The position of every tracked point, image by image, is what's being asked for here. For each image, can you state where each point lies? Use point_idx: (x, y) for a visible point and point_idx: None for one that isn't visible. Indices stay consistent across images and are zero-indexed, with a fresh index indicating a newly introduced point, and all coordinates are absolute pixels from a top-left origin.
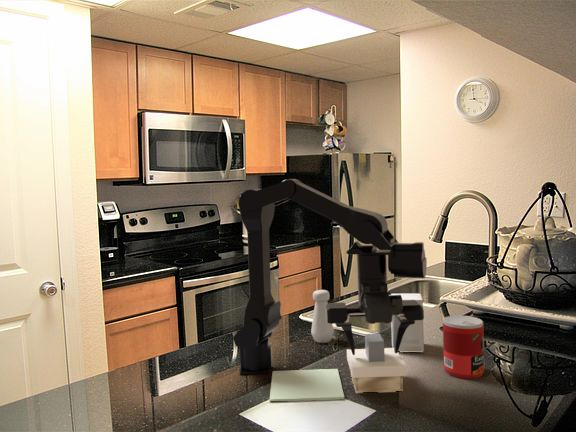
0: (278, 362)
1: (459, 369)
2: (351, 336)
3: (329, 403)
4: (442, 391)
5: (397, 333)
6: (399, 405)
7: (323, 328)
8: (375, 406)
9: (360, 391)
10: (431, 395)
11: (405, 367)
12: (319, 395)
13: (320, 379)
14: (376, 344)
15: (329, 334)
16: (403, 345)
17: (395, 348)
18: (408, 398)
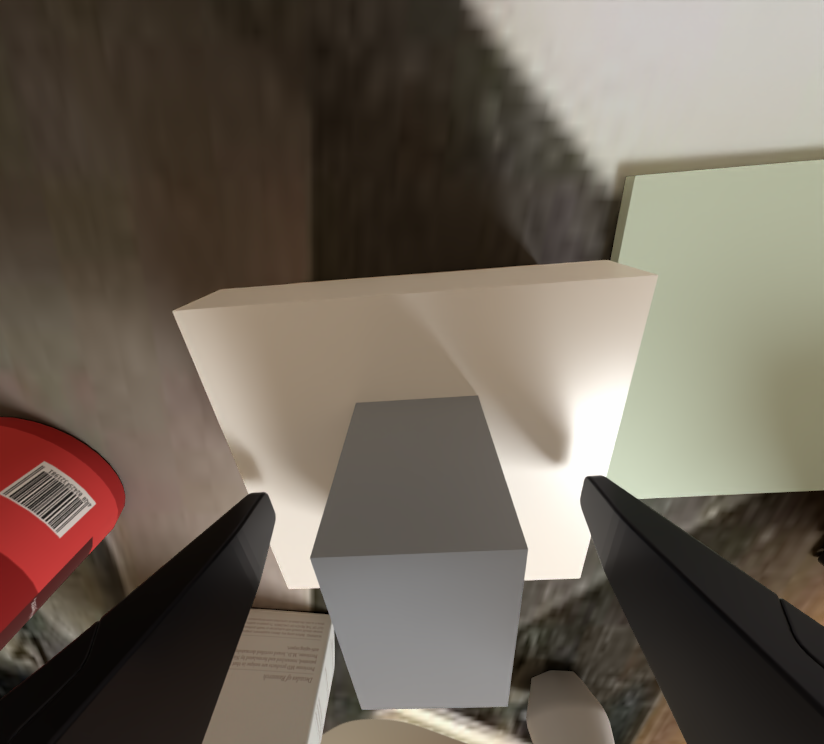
0: (776, 562)
1: (2, 447)
2: (795, 659)
3: (734, 115)
4: (91, 285)
5: (90, 702)
6: (306, 79)
7: (580, 740)
8: (457, 61)
9: (516, 266)
10: (137, 234)
11: (188, 305)
12: (780, 197)
13: (685, 404)
14: (416, 516)
15: (547, 708)
16: (287, 641)
17: (243, 522)
18: (257, 193)
